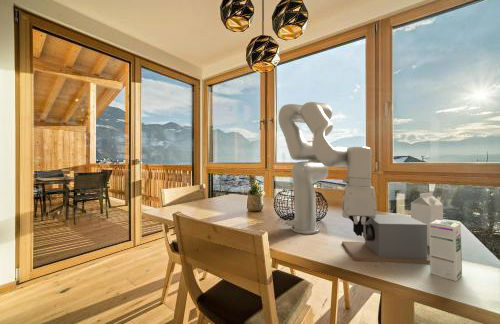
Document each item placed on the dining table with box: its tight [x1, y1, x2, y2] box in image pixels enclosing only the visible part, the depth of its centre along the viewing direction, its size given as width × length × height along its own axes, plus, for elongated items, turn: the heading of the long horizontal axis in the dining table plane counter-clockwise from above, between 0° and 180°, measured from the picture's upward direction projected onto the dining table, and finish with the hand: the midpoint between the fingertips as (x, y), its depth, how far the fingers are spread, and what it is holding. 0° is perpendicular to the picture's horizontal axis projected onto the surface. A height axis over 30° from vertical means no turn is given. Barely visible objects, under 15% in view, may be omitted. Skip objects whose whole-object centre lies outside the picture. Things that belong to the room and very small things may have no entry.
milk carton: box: [410, 192, 444, 247], centre depth 85 cm, size 7×7×19 cm
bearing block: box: [341, 213, 430, 265], centre depth 77 cm, size 23×14×12 cm, turn 82°
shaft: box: [362, 224, 375, 241], centre depth 76 cm, size 18×6×6 cm, turn 82°
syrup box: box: [428, 219, 463, 282], centre depth 62 cm, size 6×6×14 cm
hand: (358, 234), depth 78 cm, fingers closed
